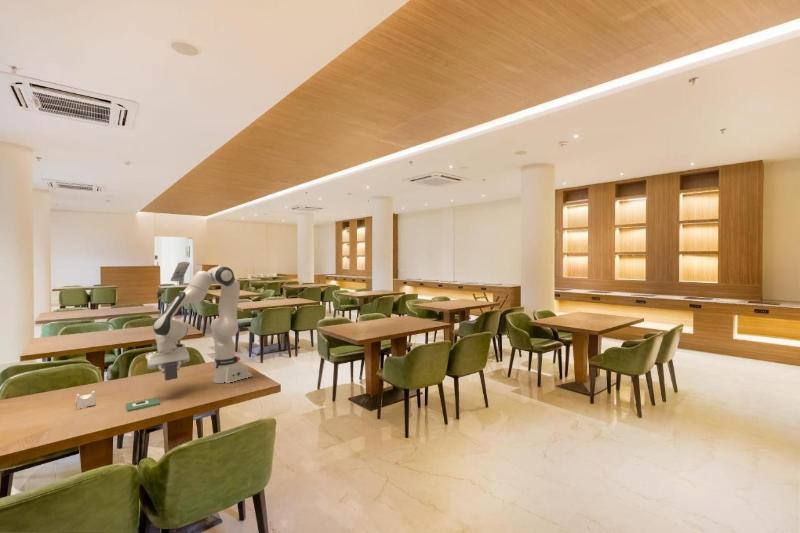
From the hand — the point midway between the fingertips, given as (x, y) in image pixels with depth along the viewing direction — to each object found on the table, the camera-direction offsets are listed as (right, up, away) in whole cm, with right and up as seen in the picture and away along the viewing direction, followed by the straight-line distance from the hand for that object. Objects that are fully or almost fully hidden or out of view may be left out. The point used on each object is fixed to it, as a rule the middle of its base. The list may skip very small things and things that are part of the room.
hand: (170, 371), depth 208 cm
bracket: (-42, -17, -5) cm, 46 cm away
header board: (-10, -16, -8) cm, 20 cm away
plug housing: (0, -4, +1) cm, 4 cm away
